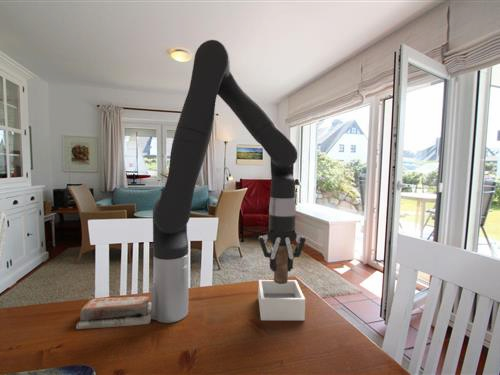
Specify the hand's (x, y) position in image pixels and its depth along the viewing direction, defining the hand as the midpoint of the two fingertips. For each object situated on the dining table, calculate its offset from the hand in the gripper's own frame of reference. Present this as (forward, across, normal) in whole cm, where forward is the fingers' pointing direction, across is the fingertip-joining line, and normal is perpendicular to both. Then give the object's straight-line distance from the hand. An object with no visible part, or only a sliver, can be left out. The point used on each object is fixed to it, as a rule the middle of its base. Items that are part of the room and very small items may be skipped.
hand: (281, 270), depth 76 cm
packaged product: (+12, -45, -4) cm, 47 cm away
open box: (+12, 0, 0) cm, 12 cm away
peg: (+3, 0, 0) cm, 3 cm away
